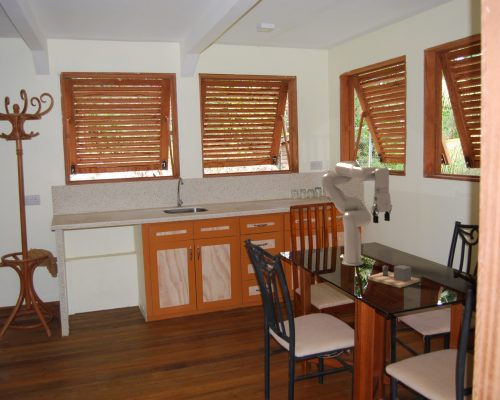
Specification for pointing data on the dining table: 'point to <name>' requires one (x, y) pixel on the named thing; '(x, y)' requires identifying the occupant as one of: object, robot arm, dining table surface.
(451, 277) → the dining table surface
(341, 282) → the dining table surface
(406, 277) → the gray cube
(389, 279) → the board
